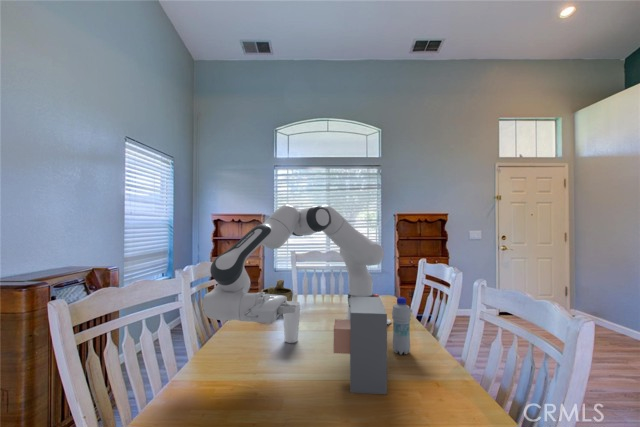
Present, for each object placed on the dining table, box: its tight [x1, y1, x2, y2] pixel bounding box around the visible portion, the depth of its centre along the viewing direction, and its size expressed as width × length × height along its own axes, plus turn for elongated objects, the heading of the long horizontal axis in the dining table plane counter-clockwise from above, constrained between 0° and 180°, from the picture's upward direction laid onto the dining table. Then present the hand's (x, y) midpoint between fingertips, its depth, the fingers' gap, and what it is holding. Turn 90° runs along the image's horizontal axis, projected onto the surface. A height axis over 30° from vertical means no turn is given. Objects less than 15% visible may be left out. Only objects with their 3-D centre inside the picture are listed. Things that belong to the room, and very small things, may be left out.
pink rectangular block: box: [333, 319, 351, 355], centre depth 98 cm, size 5×9×7 cm, turn 175°
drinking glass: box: [282, 300, 301, 344], centre depth 126 cm, size 7×7×15 cm
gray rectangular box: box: [349, 296, 388, 395], centre depth 97 cm, size 10×20×22 cm, turn 175°
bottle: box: [391, 296, 412, 356], centre depth 115 cm, size 7×7×20 cm
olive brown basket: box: [260, 278, 294, 302], centre depth 169 cm, size 22×17×15 cm
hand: (295, 308), depth 100 cm, fingers closed
